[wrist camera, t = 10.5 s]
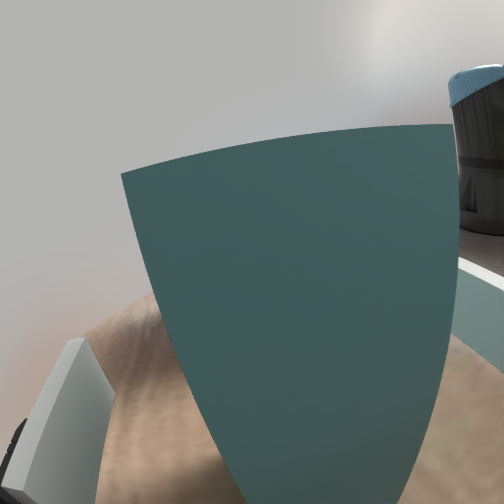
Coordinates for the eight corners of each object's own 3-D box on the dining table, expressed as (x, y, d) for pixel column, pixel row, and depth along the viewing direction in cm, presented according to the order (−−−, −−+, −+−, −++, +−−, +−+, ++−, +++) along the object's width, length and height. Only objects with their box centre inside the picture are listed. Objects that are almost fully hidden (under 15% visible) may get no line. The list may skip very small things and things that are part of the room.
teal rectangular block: (249, 437, 15) (172, 166, 10) (319, 416, 15) (283, 143, 11) (287, 565, 7) (120, 173, 3) (382, 531, 7) (452, 123, 3)
